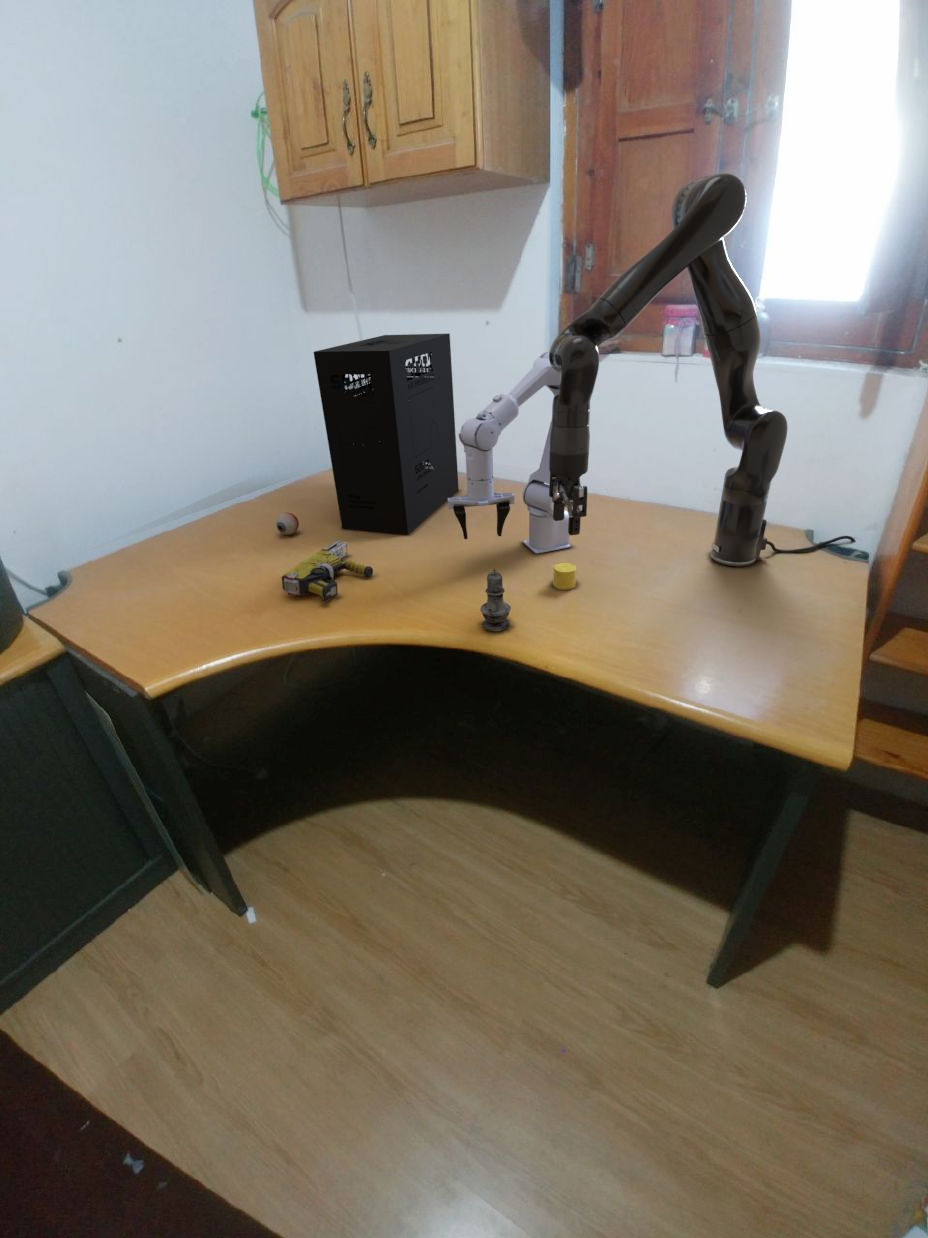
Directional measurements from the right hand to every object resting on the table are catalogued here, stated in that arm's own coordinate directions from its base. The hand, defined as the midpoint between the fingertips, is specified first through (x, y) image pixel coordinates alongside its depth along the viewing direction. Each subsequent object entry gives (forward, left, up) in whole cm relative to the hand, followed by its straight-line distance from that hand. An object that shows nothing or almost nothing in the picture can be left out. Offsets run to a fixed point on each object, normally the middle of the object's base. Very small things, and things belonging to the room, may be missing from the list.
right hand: (565, 527), depth 124 cm
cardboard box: (+26, -62, -13) cm, 68 cm away
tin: (0, 0, -13) cm, 13 cm away
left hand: (+14, -14, -5) cm, 21 cm away
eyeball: (+59, -52, -13) cm, 80 cm away
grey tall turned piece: (+19, +12, -13) cm, 26 cm away
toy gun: (+48, -19, -13) cm, 53 cm away
